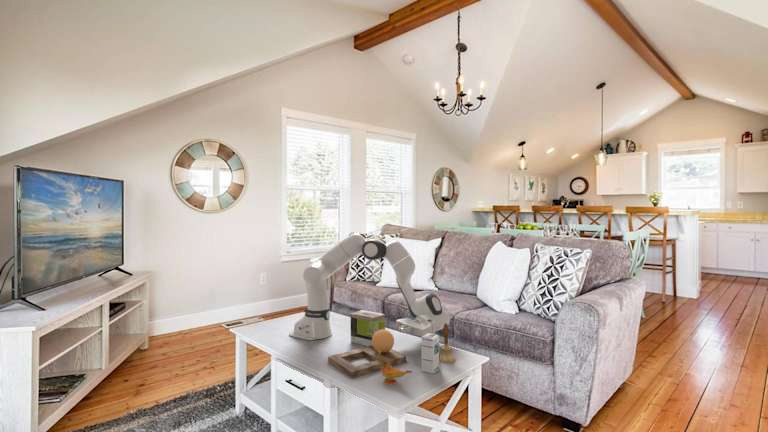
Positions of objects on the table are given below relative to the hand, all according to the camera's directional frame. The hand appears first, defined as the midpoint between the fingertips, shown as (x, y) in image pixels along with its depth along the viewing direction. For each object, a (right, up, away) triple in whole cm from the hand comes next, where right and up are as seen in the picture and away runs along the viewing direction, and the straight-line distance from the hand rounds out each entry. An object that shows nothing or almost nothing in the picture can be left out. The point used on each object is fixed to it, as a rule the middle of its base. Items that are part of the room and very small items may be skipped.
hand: (400, 330), depth 182 cm
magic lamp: (-4, -12, -30) cm, 32 cm away
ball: (-8, -3, -5) cm, 10 cm away
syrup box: (+12, -11, -18) cm, 24 cm away
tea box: (-16, -11, +15) cm, 24 cm away
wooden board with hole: (-15, -11, -10) cm, 21 cm away
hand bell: (+20, -11, -6) cm, 24 cm away
